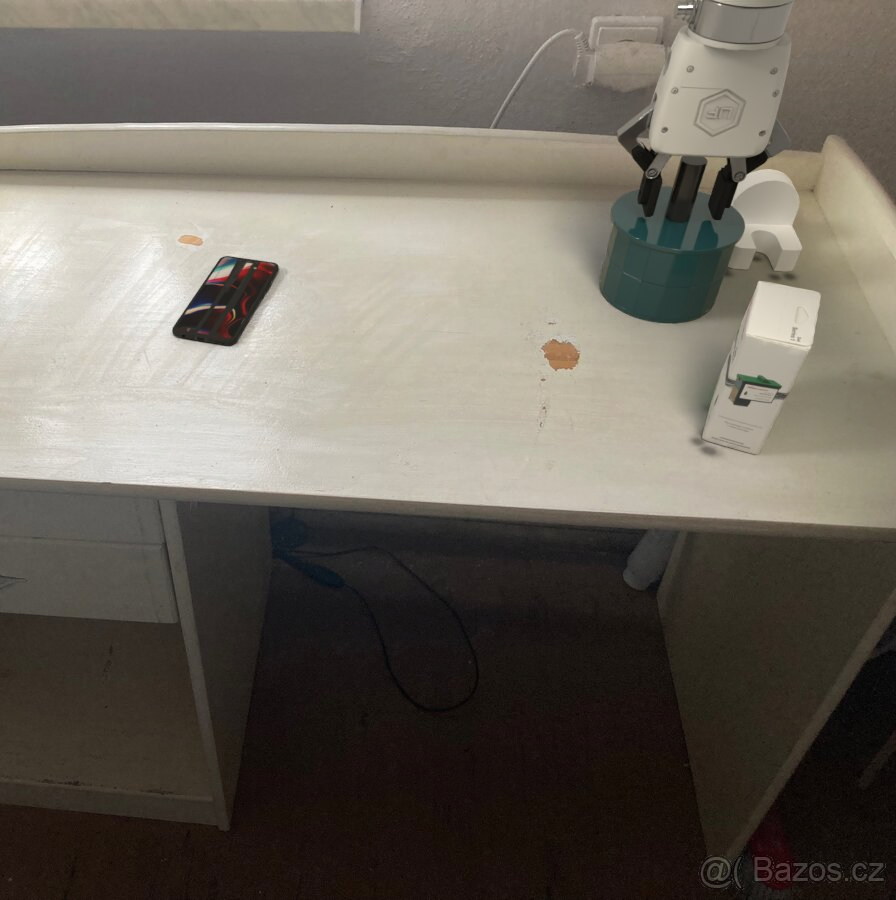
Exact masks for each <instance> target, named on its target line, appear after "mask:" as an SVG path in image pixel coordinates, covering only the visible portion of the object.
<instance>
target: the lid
mask: <svg viewBox="0 0 896 900" xmlns="http://www.w3.org/2000/svg"><path fill="white" fill-rule="evenodd" d="M708 161H709V160H708V159H707V157H692V156H680V160H679V164H678V167H677V171H676V174H675V178H674V181H673V184H672V186H661V189H660V193H659V197H658V200H657V204H656V207H655V211H654V214H653V216H651V217H645V215H644V211H643V207H642V204H638V201H637V199H638V193H639V189H640V188H637V189H633V190H631V191H629V192H626V193H624V194H622V195H621V196H619V197H618V198H617V199H616V200H615V201H614V202H613V203H612V206H611V208H610V220H611V223H612V226H613V225H614V226H615V228H616V229H617V230H618V231H619V232H620V233H621V234H623V235H624V236H625V237H627V238H628V239H630V240H632V241H634V242H636V243H638V244H640V245H643V246H645V247H648V248H651V249H654V250H658V251H662V252H667V253H674V254H684V255H701V254H710V253H715V252H720V251H723V250H726V249H728V248H730V247H732V246H734V245H735V244H736V243H738V242H739V240H740V239H741V238H742V236H743V234H744V230H745V222H744V219H743V217H742V216H741V214H740V213H739V212H738V211H737V210H736V209H735V208H734V207H733V206H730V208H725V210H724V212H723V215H722V218H721V220H714V219H713V218H712V216H711V213H710V210H709V207H708V202H709V199H710V196H711V194H709V193H706V192H704V191H700V188H701V184H702V181H703V178H704V175H705V172H706V169H707V166H708Z"/></svg>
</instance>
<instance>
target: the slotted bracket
mask: <svg viewBox="0 0 896 900" xmlns="http://www.w3.org/2000/svg"><path fill="white" fill-rule="evenodd" d="M800 202H801V201H800V196H799V194H798V191H797V189H796V187H795V185H794V184H793V181H792V179H791V178H790V177H789V176H788V175H787V174H786V173H784V172H783V171H780V170H778V169H772V168H764V169H759V170H754V171H752V172H750V173H749V174H747V175H746V178H745V179H744V180H743V181H741V182H739V183H738V186H737V189H736V192H735V195H734V197H733V200H732V203H731V206H733V207H734V208H735V209H736V210H737V211H738V212H739V213H740V214H741V216H742V217H743V219H744V222H745V230H744V234H743V236H742V238H741V239H740V240H739V242H738V243H736V245H735V247H734V250H733V253H732V256H731V258H730V261H729V264H728V267H727V268H730V269H733V270H747V271H748V270H750V267H751V264H752V263H753V259H754V257H755V254H756V252H758V253H761V254H764V255H765V256H766V257H767V258H768V260H769V263H770V265H771V268H772V270H773V271H774V272H792V271H794V269H795V266H796V264H797V261H798V259H799V257H800V255H801V252H802V250H803V245H802V243H801V241H800V239H799V236H798V235H797V233H796V231H795V229H794V227H793V224H794V222H795V219H796V217H797V215H798V213H799V208H800Z"/></svg>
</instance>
